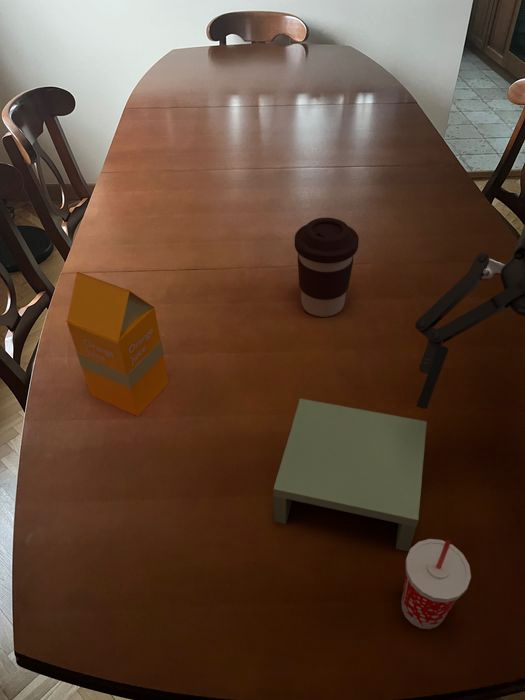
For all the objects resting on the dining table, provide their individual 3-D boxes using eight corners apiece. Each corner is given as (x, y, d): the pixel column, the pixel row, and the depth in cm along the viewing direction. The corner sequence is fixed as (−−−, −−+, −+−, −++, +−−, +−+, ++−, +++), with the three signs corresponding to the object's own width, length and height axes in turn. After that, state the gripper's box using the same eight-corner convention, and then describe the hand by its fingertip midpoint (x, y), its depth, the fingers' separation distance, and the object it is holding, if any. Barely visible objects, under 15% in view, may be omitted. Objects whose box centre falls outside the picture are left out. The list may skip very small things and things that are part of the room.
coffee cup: (342, 283, 105) (349, 208, 94) (359, 319, 98) (368, 242, 87) (288, 290, 104) (288, 215, 93) (300, 327, 97) (302, 250, 86)
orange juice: (137, 417, 83) (109, 308, 70) (89, 395, 87) (53, 287, 73) (170, 382, 88) (149, 273, 75) (123, 362, 92) (95, 255, 78)
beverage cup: (460, 634, 61) (493, 571, 51) (401, 639, 61) (423, 576, 51) (442, 577, 66) (470, 509, 56) (388, 581, 65) (406, 514, 56)
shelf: (408, 552, 68) (418, 520, 63) (273, 521, 71) (273, 488, 66) (417, 455, 78) (426, 421, 73) (298, 432, 81) (299, 398, 76)
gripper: (705, 270, 55) (621, 481, 56) (443, 206, 65) (376, 388, 66) (734, 251, 48) (638, 492, 49) (437, 183, 58) (362, 386, 59)
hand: (488, 433), depth 58 cm, fingers open, 13 cm apart
